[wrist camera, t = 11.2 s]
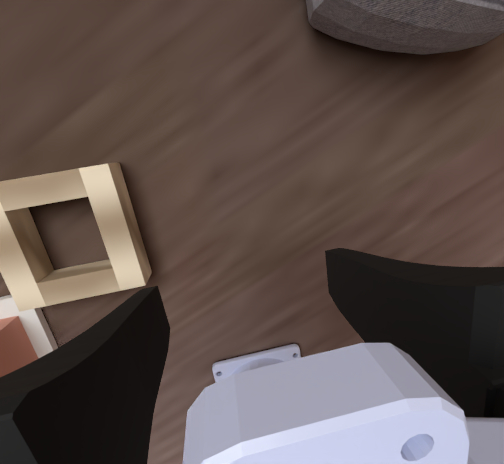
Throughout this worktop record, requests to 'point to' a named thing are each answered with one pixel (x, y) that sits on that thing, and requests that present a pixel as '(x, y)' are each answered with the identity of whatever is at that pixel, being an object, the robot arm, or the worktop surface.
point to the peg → (14, 346)
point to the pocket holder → (34, 253)
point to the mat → (30, 325)
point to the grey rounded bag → (409, 23)
